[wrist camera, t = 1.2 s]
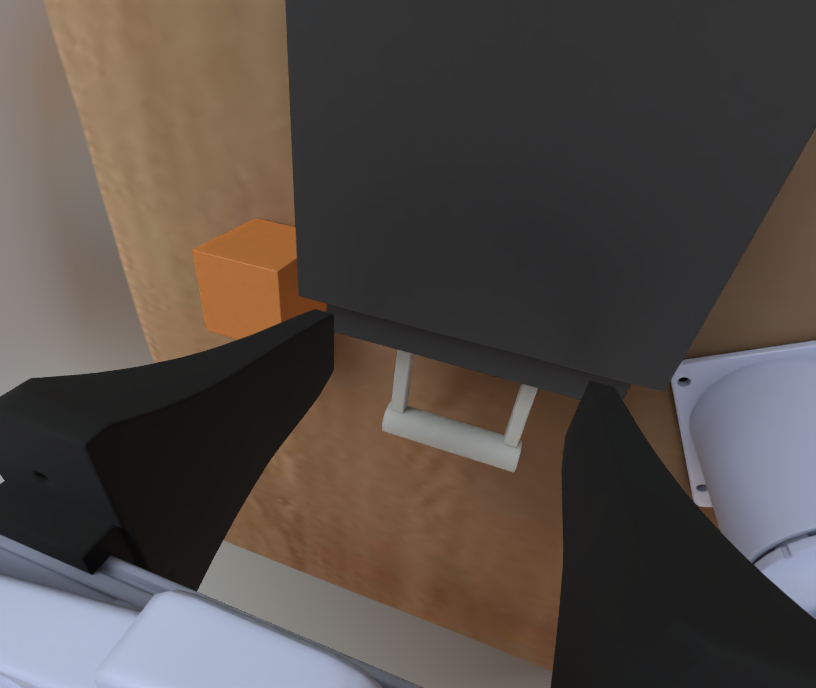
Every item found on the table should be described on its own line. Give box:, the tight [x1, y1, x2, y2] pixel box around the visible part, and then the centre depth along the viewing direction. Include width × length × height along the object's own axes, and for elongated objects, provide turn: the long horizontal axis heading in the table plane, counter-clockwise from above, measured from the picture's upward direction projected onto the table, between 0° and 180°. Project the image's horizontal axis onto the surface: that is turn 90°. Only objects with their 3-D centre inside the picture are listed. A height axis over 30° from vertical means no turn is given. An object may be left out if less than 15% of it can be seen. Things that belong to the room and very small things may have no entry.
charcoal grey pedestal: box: [285, 0, 816, 392], centre depth 13 cm, size 13×12×9 cm
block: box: [192, 218, 327, 339], centre depth 23 cm, size 4×4×5 cm
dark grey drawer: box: [327, 304, 631, 472], centre depth 16 cm, size 17×10×7 cm, turn 174°
